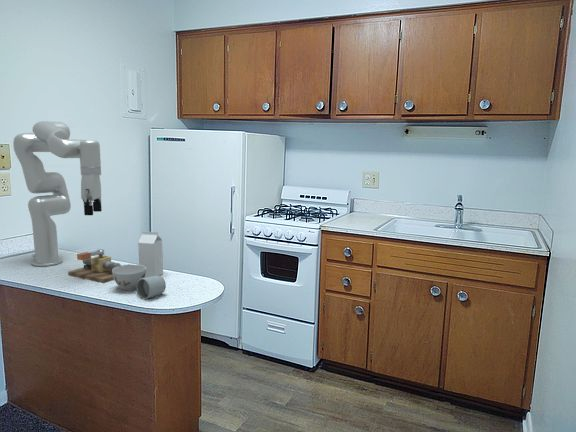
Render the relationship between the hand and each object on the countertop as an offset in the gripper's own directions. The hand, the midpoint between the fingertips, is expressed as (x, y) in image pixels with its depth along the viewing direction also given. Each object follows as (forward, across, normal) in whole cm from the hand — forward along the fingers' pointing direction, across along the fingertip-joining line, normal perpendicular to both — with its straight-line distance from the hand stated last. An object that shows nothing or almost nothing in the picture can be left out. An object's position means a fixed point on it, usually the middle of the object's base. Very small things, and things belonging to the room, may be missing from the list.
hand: (93, 213), depth 174 cm
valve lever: (+19, -1, -2) cm, 19 cm away
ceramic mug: (+27, +24, +27) cm, 45 cm away
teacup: (+27, +14, +18) cm, 36 cm away
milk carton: (+27, -1, +22) cm, 35 cm away
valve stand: (+27, -4, +1) cm, 28 cm away
